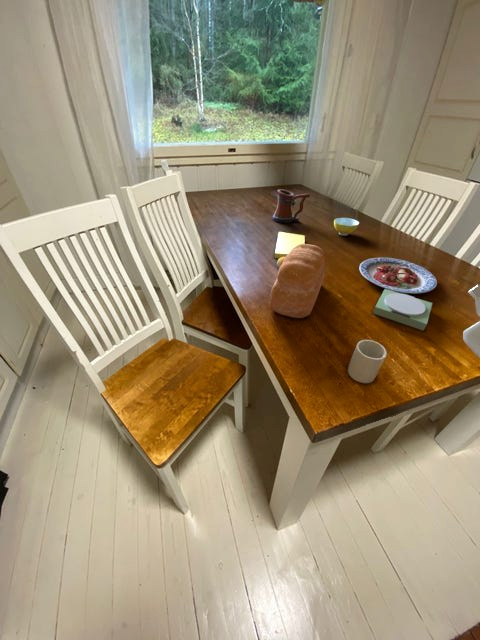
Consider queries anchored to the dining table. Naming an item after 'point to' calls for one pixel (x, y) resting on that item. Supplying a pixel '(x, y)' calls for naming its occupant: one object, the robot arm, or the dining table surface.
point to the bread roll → (280, 262)
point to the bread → (298, 281)
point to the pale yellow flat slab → (287, 243)
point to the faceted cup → (366, 361)
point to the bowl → (345, 225)
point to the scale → (403, 309)
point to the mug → (287, 206)
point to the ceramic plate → (398, 275)
